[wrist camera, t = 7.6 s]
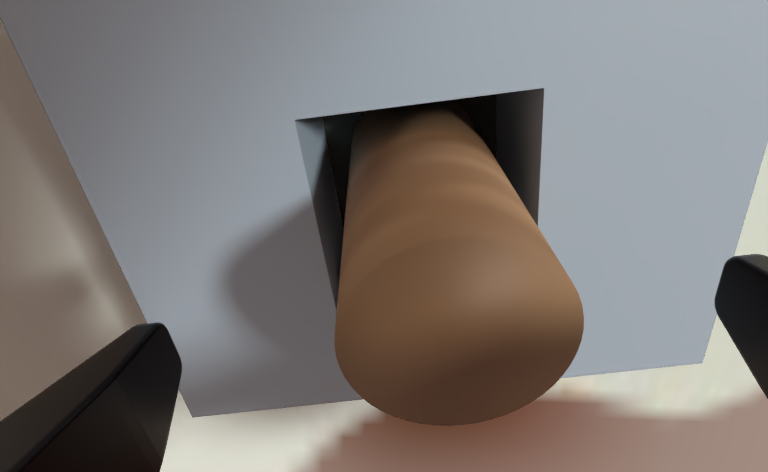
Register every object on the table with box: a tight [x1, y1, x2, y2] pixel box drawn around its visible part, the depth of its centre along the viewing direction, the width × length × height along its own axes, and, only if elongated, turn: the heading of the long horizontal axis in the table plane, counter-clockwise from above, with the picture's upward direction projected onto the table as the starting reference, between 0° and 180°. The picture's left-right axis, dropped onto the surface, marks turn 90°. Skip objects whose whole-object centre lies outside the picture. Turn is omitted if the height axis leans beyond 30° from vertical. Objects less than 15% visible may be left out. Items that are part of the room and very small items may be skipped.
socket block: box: [0, 0, 768, 417], centre depth 12 cm, size 14×11×4 cm
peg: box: [334, 100, 584, 426], centre depth 10 cm, size 4×4×8 cm
